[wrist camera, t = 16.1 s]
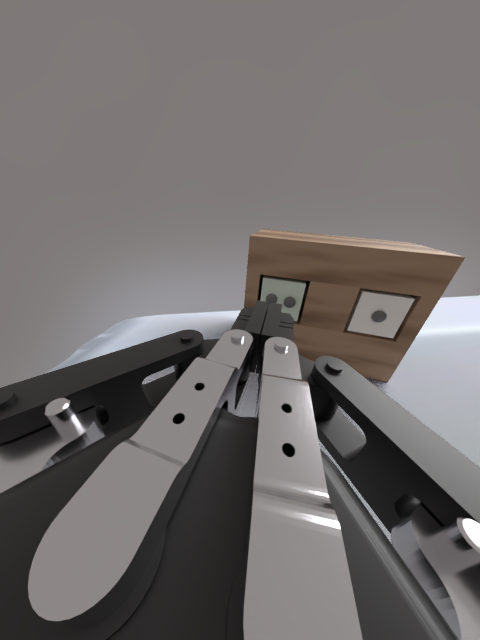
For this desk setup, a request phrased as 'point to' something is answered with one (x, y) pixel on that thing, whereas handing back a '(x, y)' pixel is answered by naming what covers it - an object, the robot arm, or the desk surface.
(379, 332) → the key one
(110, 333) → the desk surface
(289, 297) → the key two
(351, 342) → the brown piece
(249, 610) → the robot arm
